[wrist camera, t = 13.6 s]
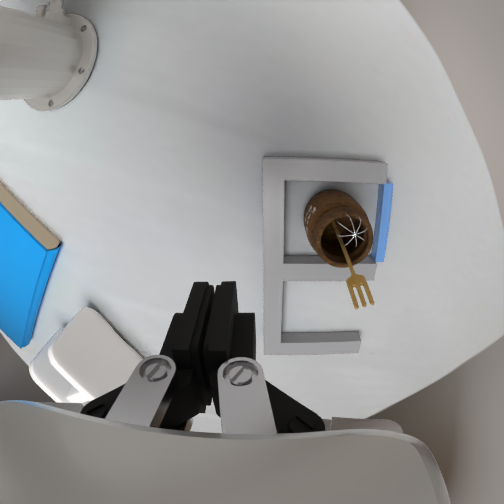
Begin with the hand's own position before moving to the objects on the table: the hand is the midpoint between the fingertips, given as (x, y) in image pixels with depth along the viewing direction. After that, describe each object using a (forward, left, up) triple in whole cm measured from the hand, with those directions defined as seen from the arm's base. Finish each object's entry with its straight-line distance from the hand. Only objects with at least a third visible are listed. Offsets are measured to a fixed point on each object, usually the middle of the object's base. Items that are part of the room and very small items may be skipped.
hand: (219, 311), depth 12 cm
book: (+9, -39, -21) cm, 45 cm away
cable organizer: (+22, -23, -20) cm, 38 cm away
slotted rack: (+7, +7, -20) cm, 22 cm away
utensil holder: (+2, +8, -20) cm, 22 cm away
